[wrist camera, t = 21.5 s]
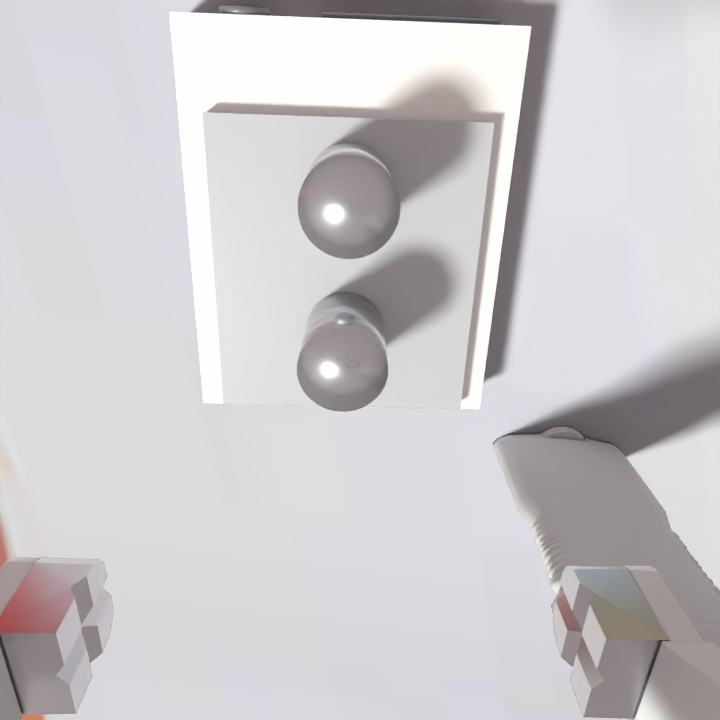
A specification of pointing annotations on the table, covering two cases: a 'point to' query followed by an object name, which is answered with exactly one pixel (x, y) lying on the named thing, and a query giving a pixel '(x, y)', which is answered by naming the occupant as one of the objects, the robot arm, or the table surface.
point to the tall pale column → (600, 517)
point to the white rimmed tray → (291, 165)
